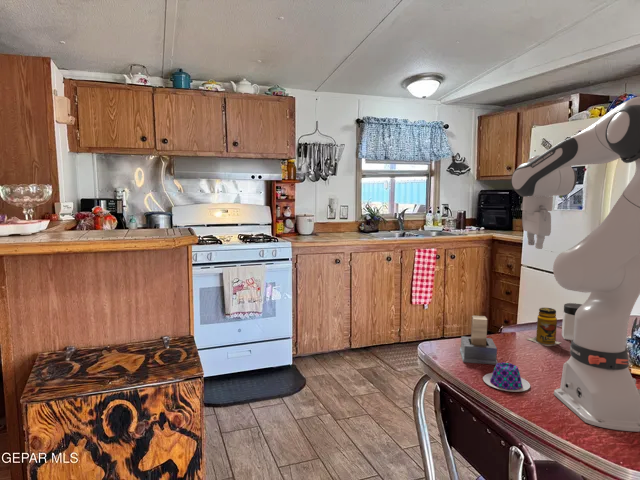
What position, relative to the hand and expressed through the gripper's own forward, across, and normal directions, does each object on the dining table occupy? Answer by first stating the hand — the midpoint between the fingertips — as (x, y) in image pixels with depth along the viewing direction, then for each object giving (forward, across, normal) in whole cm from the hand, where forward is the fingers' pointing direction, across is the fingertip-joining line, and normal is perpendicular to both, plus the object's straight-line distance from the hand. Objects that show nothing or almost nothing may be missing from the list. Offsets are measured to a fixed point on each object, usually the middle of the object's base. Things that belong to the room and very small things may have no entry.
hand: (534, 246), depth 144 cm
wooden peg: (+33, -15, +19) cm, 41 cm away
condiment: (+34, +6, -6) cm, 36 cm away
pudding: (+35, -33, +14) cm, 50 cm away
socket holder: (+34, -15, +19) cm, 42 cm away
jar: (+34, +12, -18) cm, 41 cm away
